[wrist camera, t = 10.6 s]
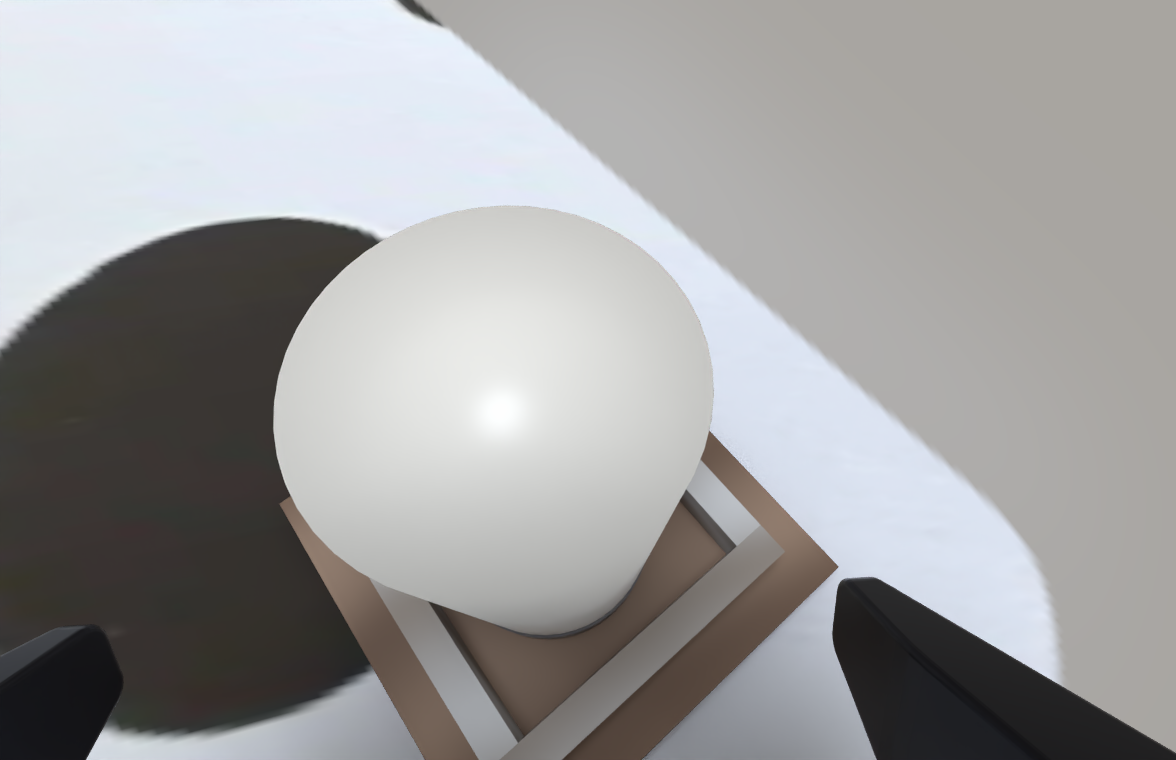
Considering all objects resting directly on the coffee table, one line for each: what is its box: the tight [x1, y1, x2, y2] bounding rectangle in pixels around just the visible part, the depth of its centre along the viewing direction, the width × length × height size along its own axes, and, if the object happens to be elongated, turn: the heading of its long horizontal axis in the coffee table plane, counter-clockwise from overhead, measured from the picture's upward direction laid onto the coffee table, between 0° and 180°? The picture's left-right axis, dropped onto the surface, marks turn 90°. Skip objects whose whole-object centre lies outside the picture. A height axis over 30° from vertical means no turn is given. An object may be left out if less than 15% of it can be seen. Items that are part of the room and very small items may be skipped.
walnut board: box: [280, 431, 838, 760], centre depth 19 cm, size 13×13×2 cm
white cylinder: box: [274, 206, 714, 639], centre depth 13 cm, size 6×6×12 cm
